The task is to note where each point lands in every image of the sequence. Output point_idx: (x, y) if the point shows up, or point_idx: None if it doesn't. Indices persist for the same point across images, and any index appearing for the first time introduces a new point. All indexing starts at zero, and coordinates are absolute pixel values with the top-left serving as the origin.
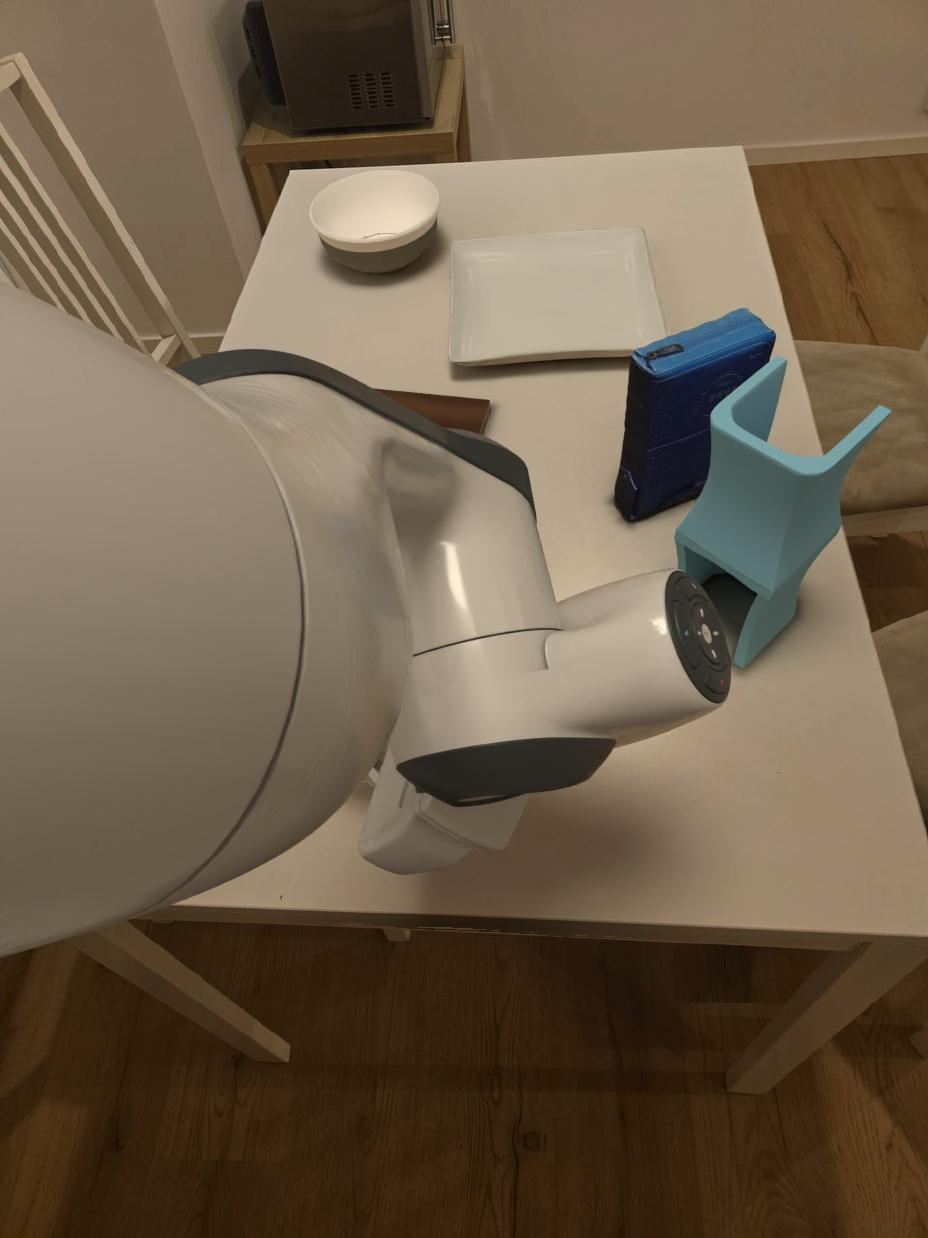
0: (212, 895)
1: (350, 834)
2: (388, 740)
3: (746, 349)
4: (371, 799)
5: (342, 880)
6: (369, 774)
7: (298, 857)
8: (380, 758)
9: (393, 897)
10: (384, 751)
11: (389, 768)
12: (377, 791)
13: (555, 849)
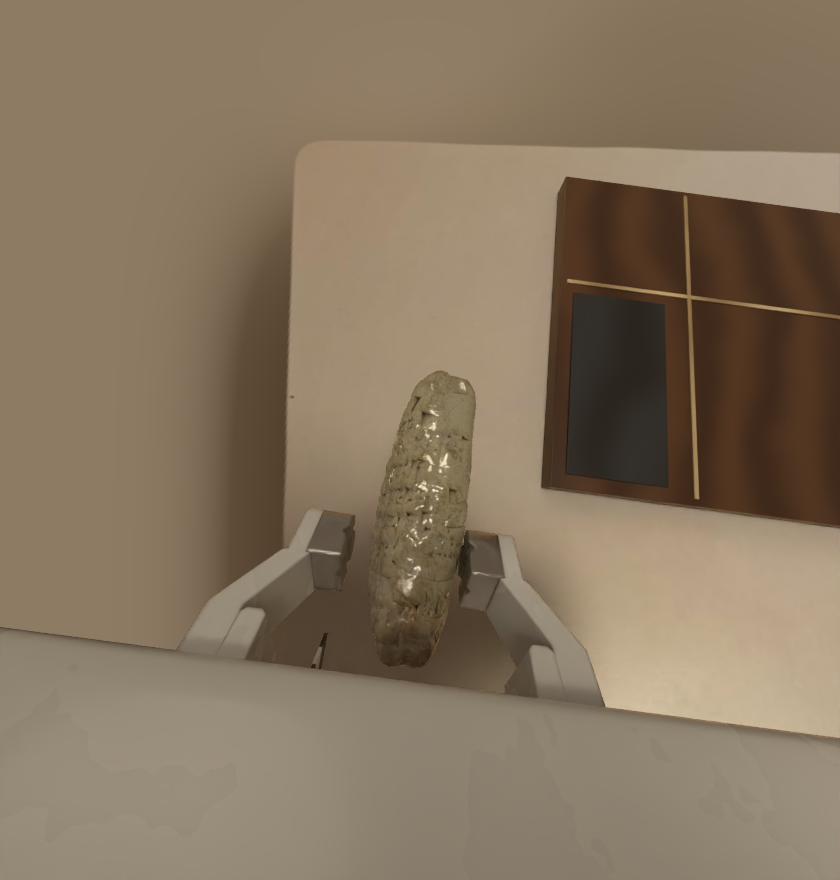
0: (293, 324)
1: (367, 461)
2: (396, 577)
3: None
4: (44, 647)
5: (311, 462)
6: (280, 553)
7: (337, 406)
8: (376, 543)
9: (292, 527)
10: (380, 560)
11: (96, 755)
12: (33, 689)
13: None
